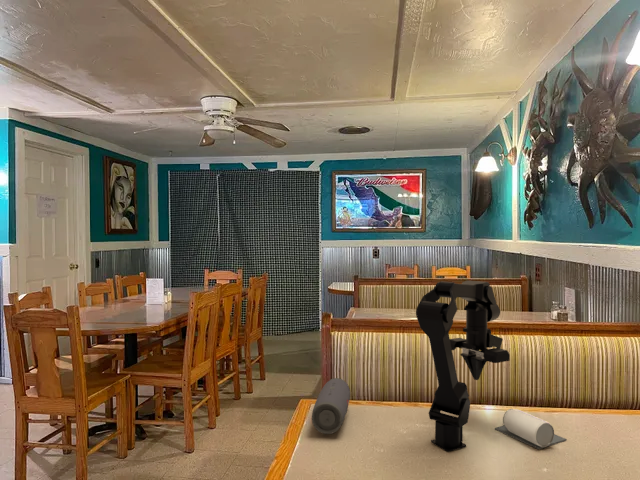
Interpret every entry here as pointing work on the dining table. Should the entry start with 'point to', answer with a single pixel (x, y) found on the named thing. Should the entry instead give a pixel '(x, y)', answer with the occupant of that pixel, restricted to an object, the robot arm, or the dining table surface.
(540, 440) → the can
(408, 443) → the dining table surface
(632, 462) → the dining table surface
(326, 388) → the bluetooth speaker
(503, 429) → the mat
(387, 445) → the dining table surface
